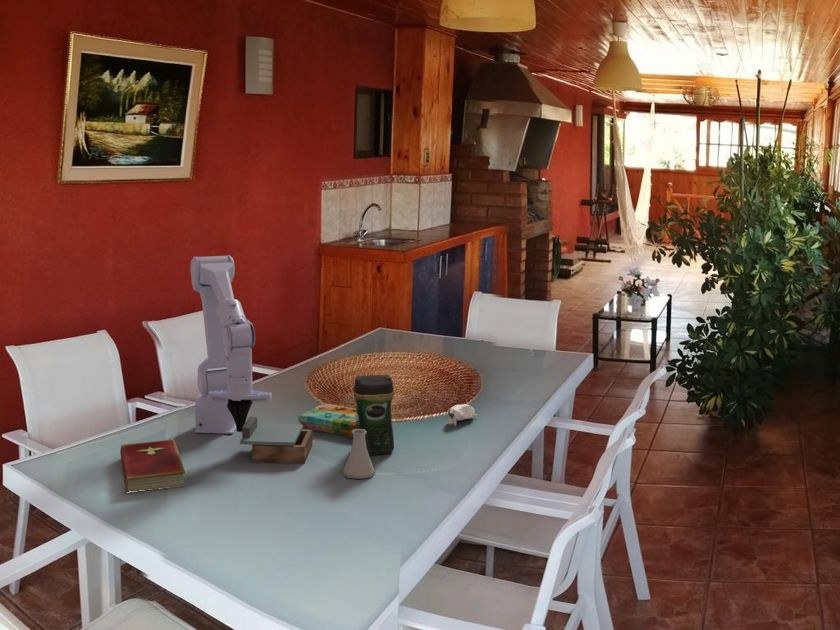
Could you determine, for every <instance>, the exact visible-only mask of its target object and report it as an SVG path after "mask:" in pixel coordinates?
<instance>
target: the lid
mask: <svg viewBox="0 0 840 630" xmlns="http://www.w3.org/2000/svg"><path fill="white" fill-rule="evenodd" d="M302 429H304V427H303V425H302V424H291V423H289V424H288V423H287V424H286V423H283V424H282V423H258V417H257V416H249V418H247V419H246V422H245V424H244V426H243V427H242V432H241V439H240V440H239V444H240V445H251V446H252V445H283V446H294V445H295V443H296V441H297V439H298V437H299V435H300V433H301V431H302Z"/></svg>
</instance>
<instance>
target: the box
mask: <svg viewBox="0 0 840 630" xmlns="http://www.w3.org/2000/svg"><path fill="white" fill-rule="evenodd" d="M312 447H313V430H312V429H307V428H303V429H302V431H301V433H300V435H299V437H298V439H297V441H296V443H295V445H294V446H283V445H251V452H252V453H251V455H252V458H251V460H252V463H265V464H266V463H270V464H271V463H272V464H273V463H275V464H276V463H277V464H300V465H301V464H305V463H306V462H307V459H308V457H309V455H310V452H311V449H312Z"/></svg>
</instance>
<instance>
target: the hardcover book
mask: <svg viewBox="0 0 840 630" xmlns="http://www.w3.org/2000/svg"><path fill="white" fill-rule="evenodd" d="M119 451H120V460H121V467H122V473H123V474H122V475H123V479H124V485H125V492H129V491H139V490H149V489H150V490H151V489H159V488H166V487H177V486H183V487H184V474H185V473H186V471H185V468H184V465H183V461H182V458H181V456H180V453H179V449H178V447H177V444H176V441H175V439H166V440H164V439H163V440H155V441H146V442H145V441H144V442H138V443H136V442H135V443H128V444H121V446H120V450H119ZM177 488H178V487H177Z"/></svg>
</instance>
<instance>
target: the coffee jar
mask: <svg viewBox="0 0 840 630" xmlns="http://www.w3.org/2000/svg"><path fill="white" fill-rule="evenodd" d="M394 394H395V389H394V382H393V379H392V376H391V375H389V374H367V375H357V376H355V380H354V386H353V398H354V399H355V405H356V406H355V409H356V424H355V429H364V430H366V434H365V442H366V448H367V451H368V454H369V456H371V455H382V454H389V453H392V451H393V450H394V448H395V444H394V443H395V440H394V430H393V418H392V400H393V398H394Z"/></svg>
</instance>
